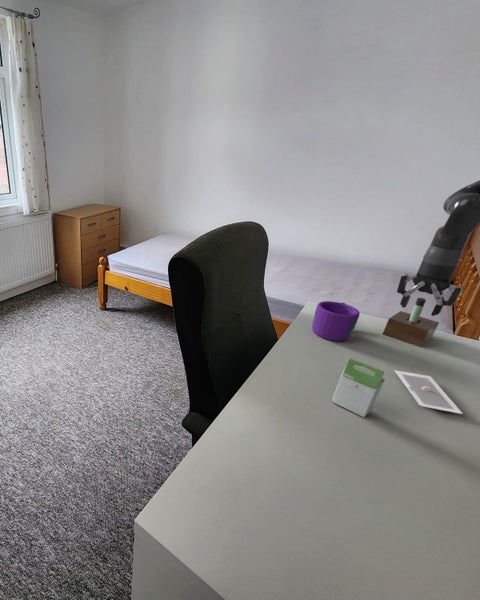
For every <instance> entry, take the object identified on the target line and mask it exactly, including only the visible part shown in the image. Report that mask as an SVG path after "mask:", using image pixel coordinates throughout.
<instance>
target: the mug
mask: <svg viewBox="0 0 480 600" xmlns="http://www.w3.org/2000/svg"><path fill="white" fill-rule="evenodd" d="M360 315H361V314H360V311H359V310H358V308H356V307H354V306H352V305H349V304H346V303H345V302H338V301H332V300H325V301H320V302H319V303H317V304H316V308H315V311H314V315H313V320H312V324H311V329H312V332H313V333H314V334H315V335H317V336H318V337H320V338H322V339H325V340H328V341H332V342H343V341H346V340H348V339H349V338H350V337H351V336H352V334H353V332H354V330H355V328H356V326H357V323H358V320H359V317H360Z"/></svg>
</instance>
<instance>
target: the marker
mask: <svg viewBox="0 0 480 600" xmlns="http://www.w3.org/2000/svg"><path fill="white" fill-rule="evenodd" d="M426 302H427V299H426V298H424V297H417V298H416V301H415V303H414V306H413V308H412V311H411V313H410V314H411V316H410V318H409V321H412V322H415V323H417V321H418V319H419V317H421V314H422V311H423V309H424V307H425V304H426Z"/></svg>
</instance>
